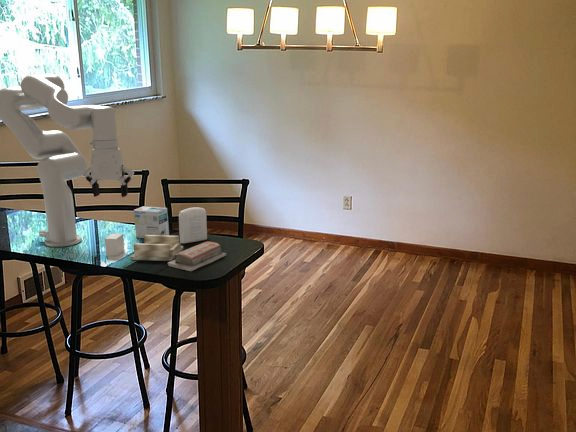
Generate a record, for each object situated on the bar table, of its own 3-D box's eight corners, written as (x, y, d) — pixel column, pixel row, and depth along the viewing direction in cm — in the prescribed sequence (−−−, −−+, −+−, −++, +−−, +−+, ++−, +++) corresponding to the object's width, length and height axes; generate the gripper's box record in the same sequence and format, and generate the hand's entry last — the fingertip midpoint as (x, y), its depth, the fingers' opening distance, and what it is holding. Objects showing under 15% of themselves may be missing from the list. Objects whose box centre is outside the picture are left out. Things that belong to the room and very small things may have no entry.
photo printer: (204, 237, 221) (202, 204, 218) (209, 239, 218) (207, 206, 215) (178, 241, 216) (176, 208, 213) (183, 244, 212) (181, 211, 209)
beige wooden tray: (130, 259, 197) (129, 245, 196) (144, 247, 210) (143, 233, 208) (171, 260, 195) (170, 246, 194) (183, 248, 208) (182, 234, 207)
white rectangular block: (106, 255, 202) (104, 238, 200) (113, 250, 208) (111, 233, 206) (117, 256, 201) (115, 239, 200) (124, 250, 207) (123, 233, 206)
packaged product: (203, 238, 204) (226, 243, 199) (203, 252, 205) (226, 256, 200) (166, 253, 190) (190, 258, 184) (167, 267, 191) (191, 273, 186)
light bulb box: (169, 235, 224) (168, 207, 221) (160, 240, 218) (158, 211, 215) (145, 233, 228) (142, 205, 225) (135, 237, 221) (132, 209, 219)
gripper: (75, 146, 192) (80, 198, 197) (126, 146, 190) (131, 198, 195) (85, 143, 200) (91, 193, 204) (135, 143, 197) (139, 193, 202)
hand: (110, 196), depth 199 cm, fingers open, 9 cm apart
